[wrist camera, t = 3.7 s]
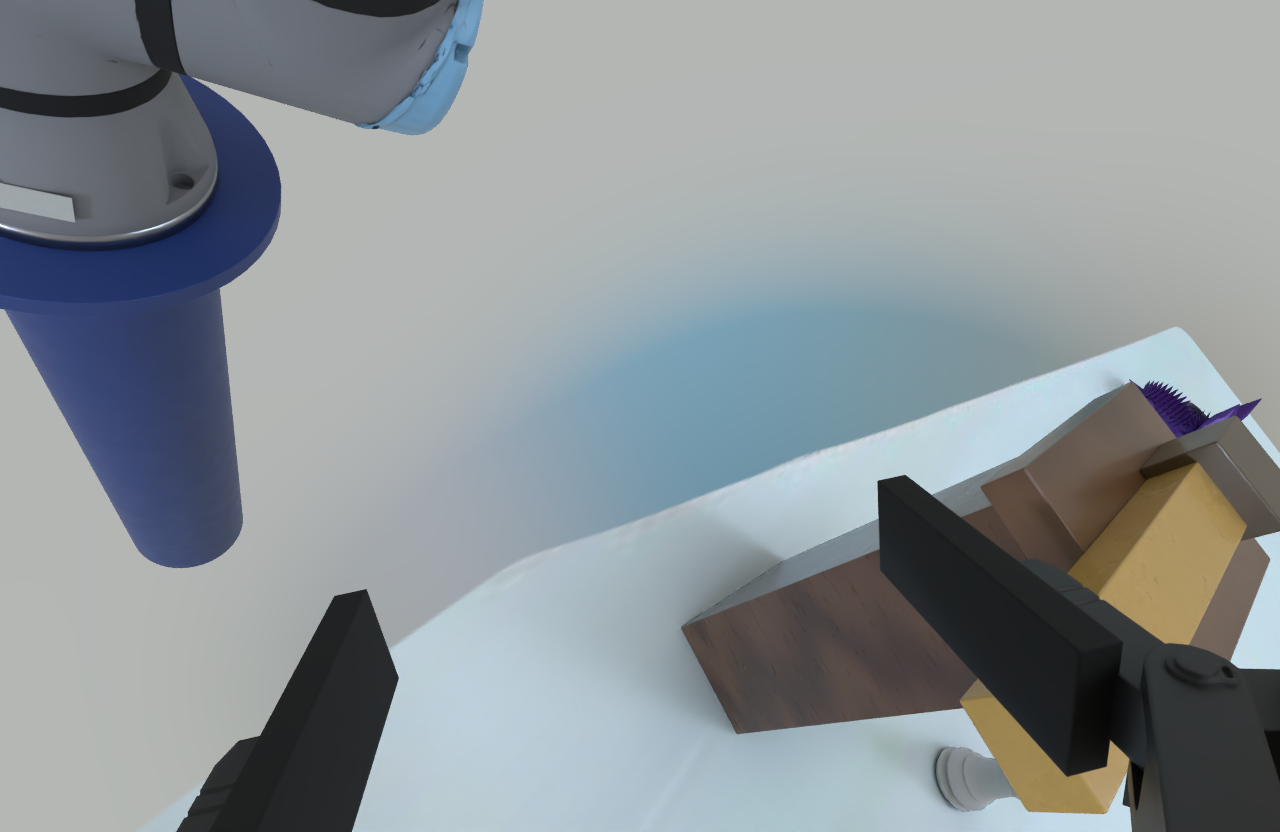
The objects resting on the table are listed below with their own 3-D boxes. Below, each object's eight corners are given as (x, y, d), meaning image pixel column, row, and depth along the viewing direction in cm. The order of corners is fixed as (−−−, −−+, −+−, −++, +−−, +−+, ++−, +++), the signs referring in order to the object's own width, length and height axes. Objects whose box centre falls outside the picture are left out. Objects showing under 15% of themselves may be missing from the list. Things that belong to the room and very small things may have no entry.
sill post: (663, 620, 45) (1024, 467, 23) (785, 545, 53) (1133, 380, 32) (734, 757, 43) (1206, 725, 21) (849, 655, 51) (1271, 559, 30)
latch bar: (946, 682, 17) (1053, 665, 14) (1162, 443, 30) (1236, 414, 28) (1039, 832, 16) (1169, 839, 14) (1219, 518, 29) (1301, 494, 27)
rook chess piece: (960, 741, 52) (1052, 735, 46) (982, 803, 50) (1081, 805, 44) (924, 753, 50) (1016, 748, 44) (946, 818, 48) (1045, 822, 42)
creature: (1185, 493, 93) (1287, 460, 84) (1108, 389, 98) (1197, 346, 88) (1200, 476, 98) (1298, 443, 89) (1127, 378, 103) (1212, 337, 93)
